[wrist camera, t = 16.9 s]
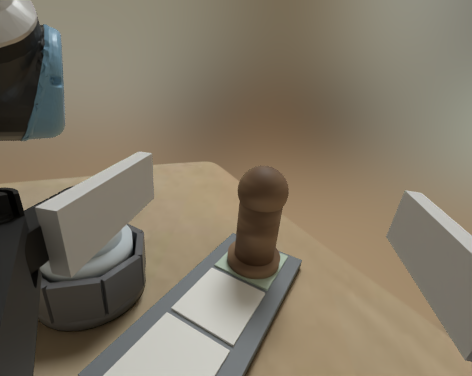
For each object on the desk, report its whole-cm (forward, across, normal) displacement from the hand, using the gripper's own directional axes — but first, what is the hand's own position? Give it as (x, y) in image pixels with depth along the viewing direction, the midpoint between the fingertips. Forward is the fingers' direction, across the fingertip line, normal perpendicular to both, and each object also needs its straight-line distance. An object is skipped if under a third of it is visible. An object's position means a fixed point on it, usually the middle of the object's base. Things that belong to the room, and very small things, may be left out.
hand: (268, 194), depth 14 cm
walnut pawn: (+10, 0, -13) cm, 16 cm away
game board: (+4, -2, -14) cm, 14 cm away
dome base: (+3, -14, -14) cm, 20 cm away
